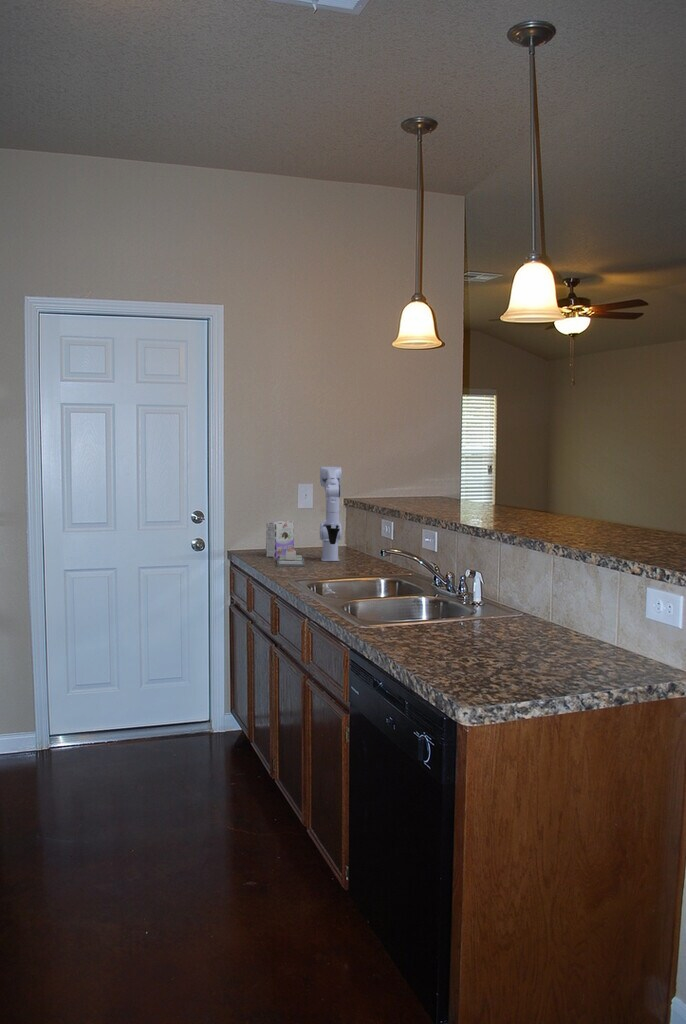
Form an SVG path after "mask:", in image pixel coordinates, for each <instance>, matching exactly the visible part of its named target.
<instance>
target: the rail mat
mask: <svg viewBox="0 0 686 1024" xmlns="http://www.w3.org/2000/svg"><path fill="white" fill-rule="evenodd" d="M276 559H277V560H276V561H277V562H276V567H302V566H305V565H306V563H305V558H304V557H303V555H299V554H296V560H286V555H280V557H279V558H276Z"/></svg>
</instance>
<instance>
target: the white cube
mask: <svg viewBox="0 0 686 1024" xmlns="http://www.w3.org/2000/svg"><path fill="white" fill-rule="evenodd" d="M296 555H297V551H296V550H295V548H294V549H288V550H286V560H296Z"/></svg>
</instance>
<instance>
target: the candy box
mask: <svg viewBox="0 0 686 1024" xmlns="http://www.w3.org/2000/svg"><path fill="white" fill-rule="evenodd" d="M265 537H266V542H265V543H266V546H265V547H266V549H265V550H266V551H265V553H266V554H265V557H266V558H271V559H278V557H279V558H280V555H286V550H288V549H294V550H295V543H294V542H295V520H287V519H286V520H279V521H278V520H277V521H276V520H275V521H270V522H268V521H267V522H266V536H265Z"/></svg>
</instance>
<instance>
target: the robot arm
mask: <svg viewBox="0 0 686 1024" xmlns="http://www.w3.org/2000/svg"><path fill="white" fill-rule="evenodd" d="M319 479H320V480H319V483H320V486H321V487H323V488H324V492H325V519H324V520H323V521H321V522H320V524H319V540H321V541H322V546H321V548H322V551H321V553H322V556H321V557H320V559H321V562H340V558H339V541H341V539H342V535H343V534H342V532H343V531H342V524H341V522H340V503H341V501H340V499H341V495H342V487H341V482H342V467H341V466H323V465H321V466H320V468H319Z"/></svg>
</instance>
